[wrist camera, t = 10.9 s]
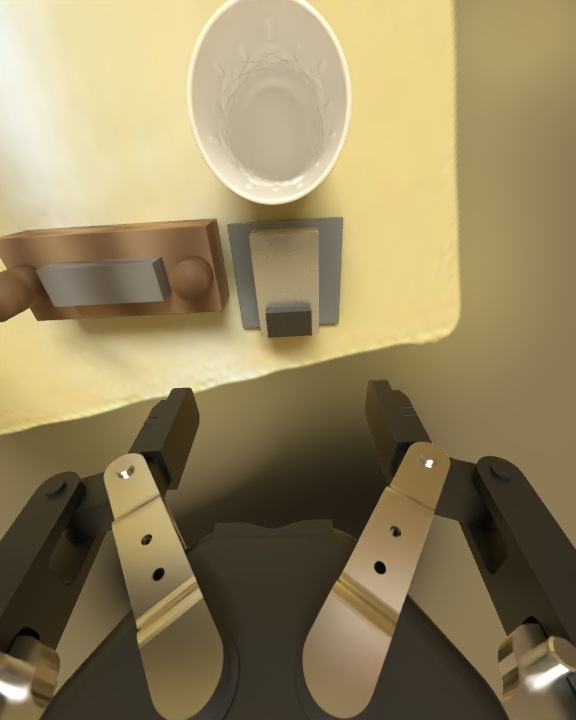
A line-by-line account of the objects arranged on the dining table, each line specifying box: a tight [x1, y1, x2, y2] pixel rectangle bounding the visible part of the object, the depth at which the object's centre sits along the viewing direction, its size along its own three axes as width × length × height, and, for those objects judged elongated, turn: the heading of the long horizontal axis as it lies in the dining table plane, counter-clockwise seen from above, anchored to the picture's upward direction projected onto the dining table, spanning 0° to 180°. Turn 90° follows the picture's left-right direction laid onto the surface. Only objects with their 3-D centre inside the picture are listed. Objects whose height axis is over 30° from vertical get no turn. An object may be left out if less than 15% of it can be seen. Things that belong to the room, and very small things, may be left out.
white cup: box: [187, 0, 352, 205], centre depth 18 cm, size 8×8×10 cm
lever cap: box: [249, 225, 319, 337], centre depth 26 cm, size 9×6×4 cm, turn 4°
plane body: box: [0, 219, 229, 322], centre depth 24 cm, size 17×7×8 cm, turn 93°
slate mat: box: [227, 217, 343, 328], centre depth 28 cm, size 10×10×1 cm
